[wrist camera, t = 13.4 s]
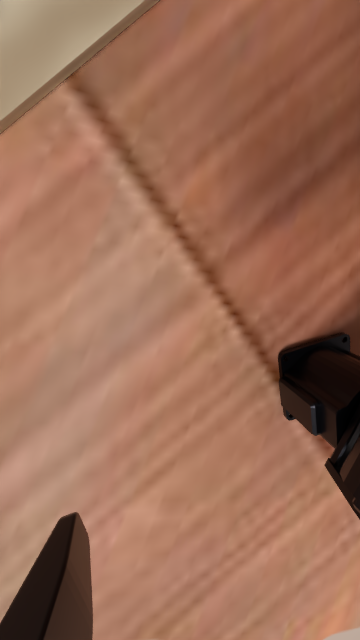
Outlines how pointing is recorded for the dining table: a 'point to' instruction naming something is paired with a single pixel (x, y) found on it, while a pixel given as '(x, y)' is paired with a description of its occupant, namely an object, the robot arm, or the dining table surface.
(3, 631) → the robot arm
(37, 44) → the cradle board
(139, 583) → the dining table surface
